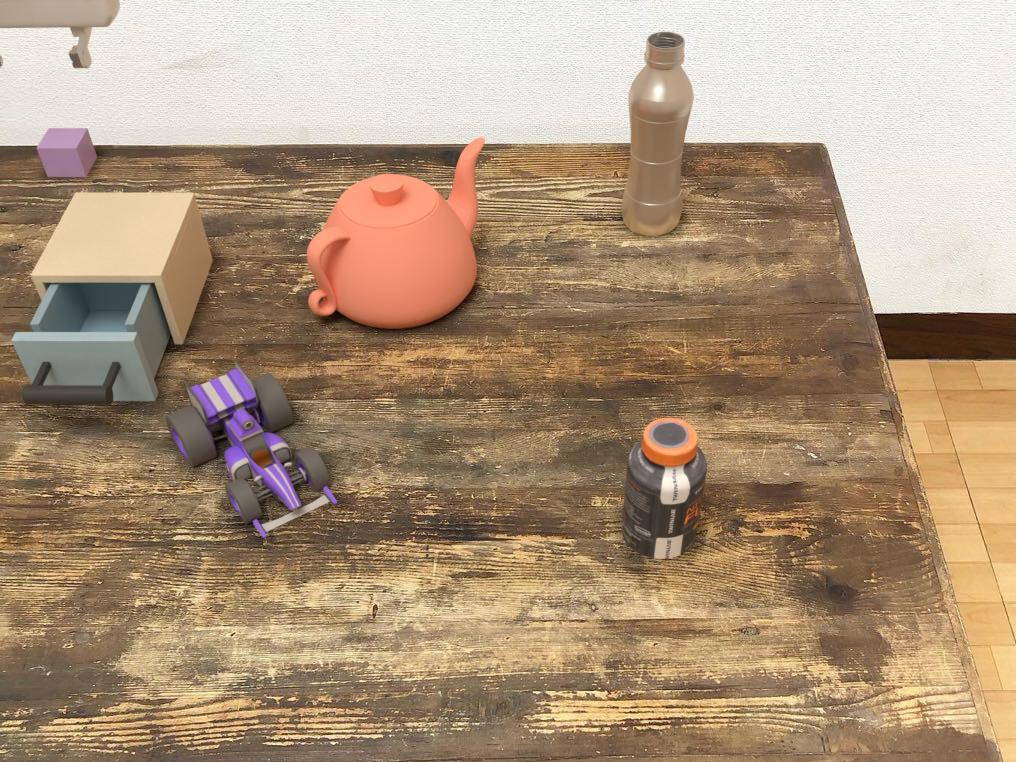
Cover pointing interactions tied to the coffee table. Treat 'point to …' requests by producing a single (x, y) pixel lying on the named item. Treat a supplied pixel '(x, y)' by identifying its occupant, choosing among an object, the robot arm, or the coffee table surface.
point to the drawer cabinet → (132, 248)
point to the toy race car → (248, 443)
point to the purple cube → (67, 152)
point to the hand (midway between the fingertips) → (39, 66)
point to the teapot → (397, 249)
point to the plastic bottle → (657, 137)
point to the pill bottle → (664, 490)
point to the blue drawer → (94, 344)
